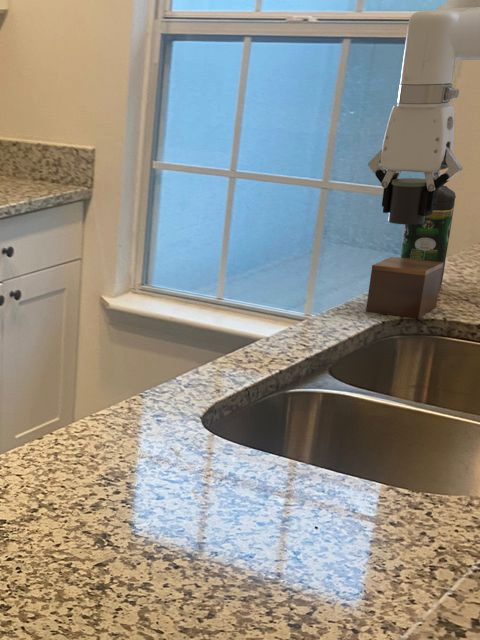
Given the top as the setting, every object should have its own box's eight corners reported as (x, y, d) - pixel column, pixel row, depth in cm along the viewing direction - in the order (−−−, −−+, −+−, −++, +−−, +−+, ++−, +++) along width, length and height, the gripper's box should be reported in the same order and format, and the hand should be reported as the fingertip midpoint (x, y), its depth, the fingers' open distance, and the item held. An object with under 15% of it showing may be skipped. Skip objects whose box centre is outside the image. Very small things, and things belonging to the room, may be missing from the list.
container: (412, 217, 174) (418, 177, 171) (432, 223, 169) (439, 181, 166) (379, 220, 173) (385, 179, 170) (398, 225, 168) (404, 183, 165)
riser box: (384, 301, 185) (391, 256, 182) (436, 308, 180) (443, 262, 177) (365, 311, 179) (372, 265, 176) (418, 318, 174) (425, 270, 170)
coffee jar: (398, 281, 200) (413, 182, 192) (442, 284, 197) (459, 183, 189) (392, 291, 192) (408, 188, 184) (438, 294, 189) (456, 190, 181)
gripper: (488, 95, 159) (469, 215, 167) (382, 94, 171) (368, 206, 178) (468, 98, 155) (449, 221, 162) (361, 97, 166) (347, 212, 174)
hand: (407, 212), depth 170 cm, fingers closed on container, 5 cm apart
